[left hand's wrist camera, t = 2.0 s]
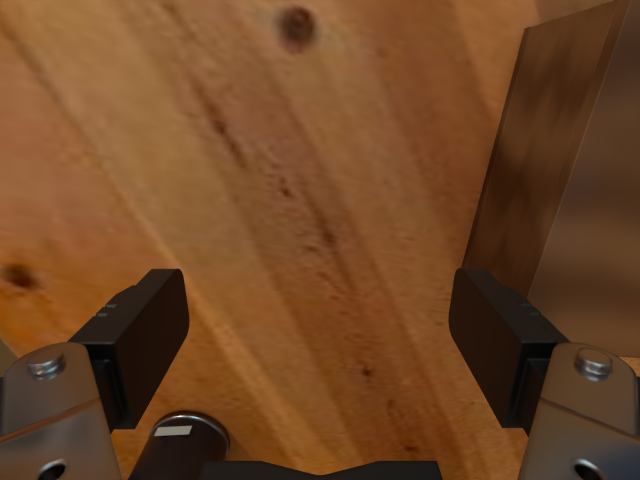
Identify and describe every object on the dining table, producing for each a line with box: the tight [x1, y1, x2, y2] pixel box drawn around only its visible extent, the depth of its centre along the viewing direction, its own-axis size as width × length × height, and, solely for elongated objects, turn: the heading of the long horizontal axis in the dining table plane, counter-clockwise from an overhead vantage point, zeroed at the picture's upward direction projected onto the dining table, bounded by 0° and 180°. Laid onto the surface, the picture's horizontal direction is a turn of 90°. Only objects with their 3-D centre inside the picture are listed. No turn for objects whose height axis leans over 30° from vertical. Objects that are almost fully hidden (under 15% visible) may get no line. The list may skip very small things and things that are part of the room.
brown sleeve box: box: [462, 0, 640, 358], centre depth 28 cm, size 22×10×11 cm, turn 174°
